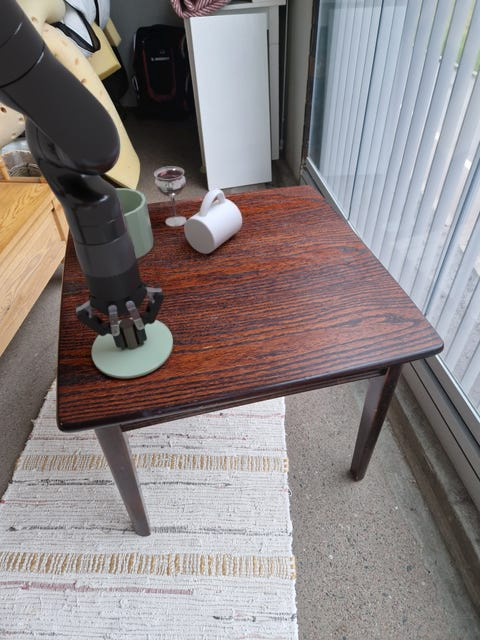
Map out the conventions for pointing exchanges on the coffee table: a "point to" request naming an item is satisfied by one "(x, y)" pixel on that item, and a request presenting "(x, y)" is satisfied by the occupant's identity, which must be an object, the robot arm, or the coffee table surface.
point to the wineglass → (171, 188)
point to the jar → (137, 220)
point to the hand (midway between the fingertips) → (132, 343)
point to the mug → (213, 223)
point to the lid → (133, 350)
